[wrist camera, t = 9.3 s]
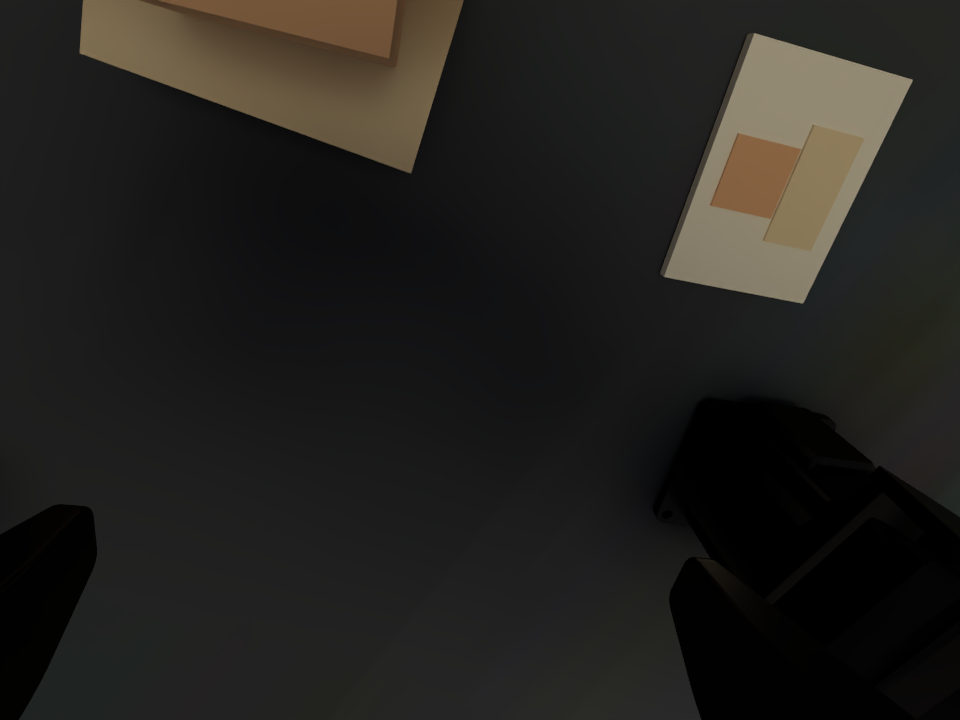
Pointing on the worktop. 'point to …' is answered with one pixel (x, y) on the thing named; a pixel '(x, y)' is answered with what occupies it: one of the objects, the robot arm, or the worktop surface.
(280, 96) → the maple base block
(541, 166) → the worktop surface
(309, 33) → the terracotta cube
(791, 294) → the card
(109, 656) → the worktop surface
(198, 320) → the worktop surface
